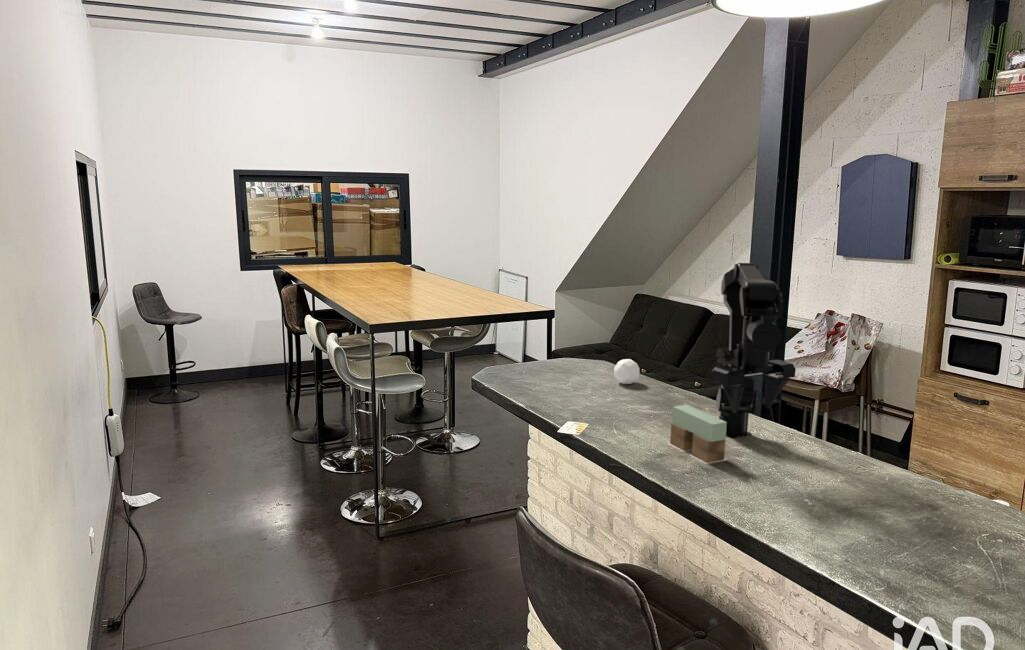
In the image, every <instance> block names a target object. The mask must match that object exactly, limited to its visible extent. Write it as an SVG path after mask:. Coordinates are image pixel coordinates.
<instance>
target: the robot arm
mask: <svg viewBox="0 0 1025 650" xmlns="http://www.w3.org/2000/svg"><path fill="white" fill-rule="evenodd" d="M720 285H721V287H720V291H721V292H720V293H721V295H722V296H723V304H724V305H725V307H726V309H727V310H728V312H729V333H728V334H729V336H728V343H729V344H728V347H727V346H723V347H718V348H717V349H716V354H715V356H716V361H717V363H722V365H721V366H715V367H713V369H712V370H711V380H713V381H714V382H716V383H717V384H719V385H721V386H720V387H719V388H718V391H717V393H716V394H717V395H716V399H715V401H716V403H715V405H716V409H717V411H718V412H720V413H719V414H720V415H718V416H719V417H718V419H721V420H723V421H725V422H727V426H726V437H728V438H731V439H736V438H741V437H749V436H752V435H753V434H752V433H751V432H750V431H748V425H749V423H748V422H749V414H750V413H751V414H755V412H756V406H757V401H758V398H759V395H758V394H757V390H756V389H755V383H754V379H753V378H752V377H758V376H762V378H763V381H764V386H765V387H764V407H765V409H770V408H771V407H772V406H773V404H774V402H775V400H776V399H777V397H778V396H779V395H780V392H781V391H783V389H784V387H785V386H786V385H787V384H788V383H789V382H791V378H795V377H796V371H797V370H796V367H795V366H794V364H793V363H791V362H787V361H785V360H781V359H770V352H771V353H772V352H774V351H775V348H777V347H778V346H779V345H780V343H781V342H782V339H783V335H782V331H781V328H780V327H779V326H778V325H777V324H775V318H782V317H783V313H784V310H785V308H784V301H783V300H784V299H783V294H782V292H781V289H780V287H778V285H777V283H776V282H774V281H773V280H767V279H765V278H764V277H763V276H762V274H761V272H760V271H759V266H758V264H756V263H754V262H738V263H734V267H733V268H732V269H730V270H728V271H726V273H724V274H723V277H722V280H721V284H720Z"/></svg>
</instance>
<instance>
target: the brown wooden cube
mask: <svg viewBox="0 0 1025 650" xmlns="http://www.w3.org/2000/svg"><path fill="white" fill-rule="evenodd" d="M693 434H694V433H692V432H690V431H688V430H686V429H684V428H682V427H680V426H678V425H676V424H674V423H671V425H670V440H669V441H670V442H669V443H670V444H672V445H674V446H675V447H677V448H679V449H681V450H683V451H685V450H691V449H692V443H693ZM675 447H674V448H675ZM677 448H676V449H677Z"/></svg>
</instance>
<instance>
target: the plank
mask: <svg viewBox="0 0 1025 650" xmlns="http://www.w3.org/2000/svg"><path fill="white" fill-rule="evenodd" d="M671 418H672V419H671V422H672V423H674V424H676V425H678V426H680V427H682V428H684V429H686V430H688V431H690V432H692V433H694V434H696V435H698V436H700V437H702V438H704V439H706V440H708V441H710V442H714V441H719V440H725V441H726V438H727V436H726V426H727V422H725V421H723V420H721V419H719V417H717V416H716V417H715V416H714V415H711V414H709V413H707V412H705V411H703V410H700V409H698V408H695V407H693V406H691V405H688V404H682V405H675V406H672V417H671ZM672 423H671V424H672Z"/></svg>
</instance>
